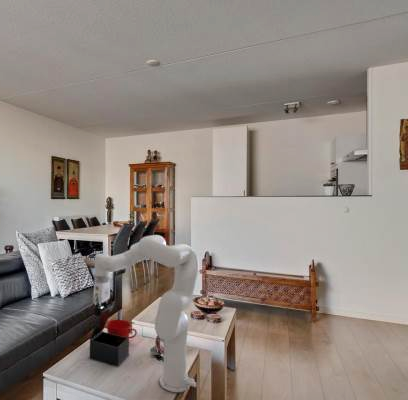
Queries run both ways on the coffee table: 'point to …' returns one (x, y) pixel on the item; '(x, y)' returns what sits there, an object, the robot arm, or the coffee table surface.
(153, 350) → the packaged food
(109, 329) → the ceramic cup
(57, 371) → the coffee table surface
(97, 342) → the bin
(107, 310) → the bin lid
